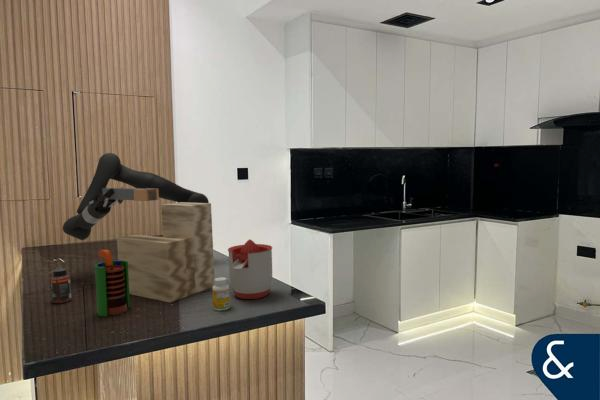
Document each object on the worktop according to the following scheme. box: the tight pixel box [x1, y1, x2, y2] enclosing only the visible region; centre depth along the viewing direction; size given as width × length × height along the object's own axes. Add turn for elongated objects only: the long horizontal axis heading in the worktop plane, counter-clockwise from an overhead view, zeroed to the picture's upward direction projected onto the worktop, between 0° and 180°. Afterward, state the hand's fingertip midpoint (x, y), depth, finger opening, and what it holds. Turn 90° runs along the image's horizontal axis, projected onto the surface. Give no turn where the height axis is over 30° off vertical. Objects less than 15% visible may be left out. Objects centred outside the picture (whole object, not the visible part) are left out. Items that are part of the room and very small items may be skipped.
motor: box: [94, 249, 131, 318], centre depth 144 cm, size 10×9×20 cm
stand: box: [116, 202, 215, 303], centre depth 167 cm, size 22×27×32 cm
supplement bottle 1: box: [50, 268, 72, 304], centre depth 157 cm, size 6×6×11 cm
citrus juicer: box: [227, 239, 273, 300], centre depth 156 cm, size 16×17×20 cm
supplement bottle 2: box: [211, 276, 231, 312], centre depth 144 cm, size 5×5×10 cm
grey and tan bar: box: [102, 187, 160, 202], centre depth 165 cm, size 6×26×4 cm, turn 57°
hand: (118, 190), depth 168 cm, fingers closed on grey and tan bar, 4 cm apart
